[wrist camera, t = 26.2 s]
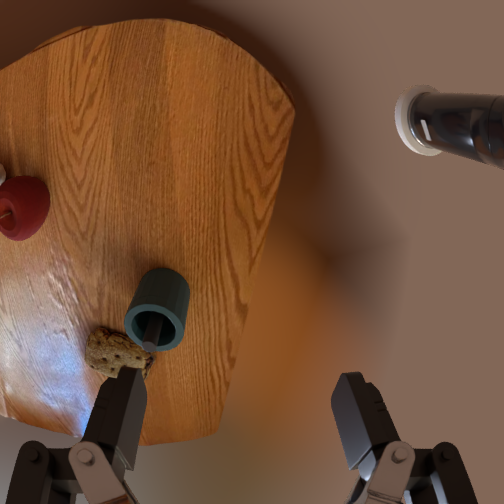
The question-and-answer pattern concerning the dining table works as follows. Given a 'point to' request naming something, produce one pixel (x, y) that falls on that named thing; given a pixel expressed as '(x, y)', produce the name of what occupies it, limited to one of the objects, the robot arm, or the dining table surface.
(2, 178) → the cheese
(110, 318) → the dining table surface
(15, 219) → the apple
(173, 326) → the crock
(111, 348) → the pastry
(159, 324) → the t-shaped mushroom stamp
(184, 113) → the dining table surface
